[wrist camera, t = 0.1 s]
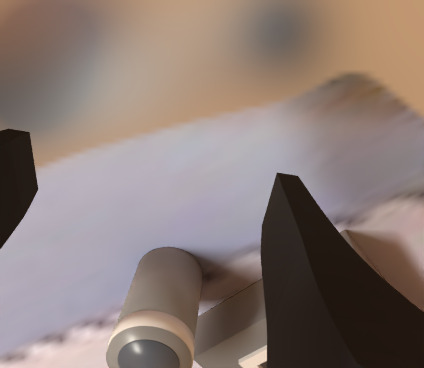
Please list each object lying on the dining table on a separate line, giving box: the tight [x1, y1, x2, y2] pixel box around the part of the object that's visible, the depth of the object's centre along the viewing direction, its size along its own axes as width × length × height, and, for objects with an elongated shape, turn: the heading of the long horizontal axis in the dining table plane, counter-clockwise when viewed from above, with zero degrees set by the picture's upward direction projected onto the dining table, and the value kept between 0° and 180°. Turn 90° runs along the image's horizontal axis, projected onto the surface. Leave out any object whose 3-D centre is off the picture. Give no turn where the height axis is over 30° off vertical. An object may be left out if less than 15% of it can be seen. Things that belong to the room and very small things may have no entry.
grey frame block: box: [193, 230, 385, 368], centre depth 26 cm, size 12×11×4 cm
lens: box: [106, 247, 203, 368], centre depth 23 cm, size 4×4×7 cm
